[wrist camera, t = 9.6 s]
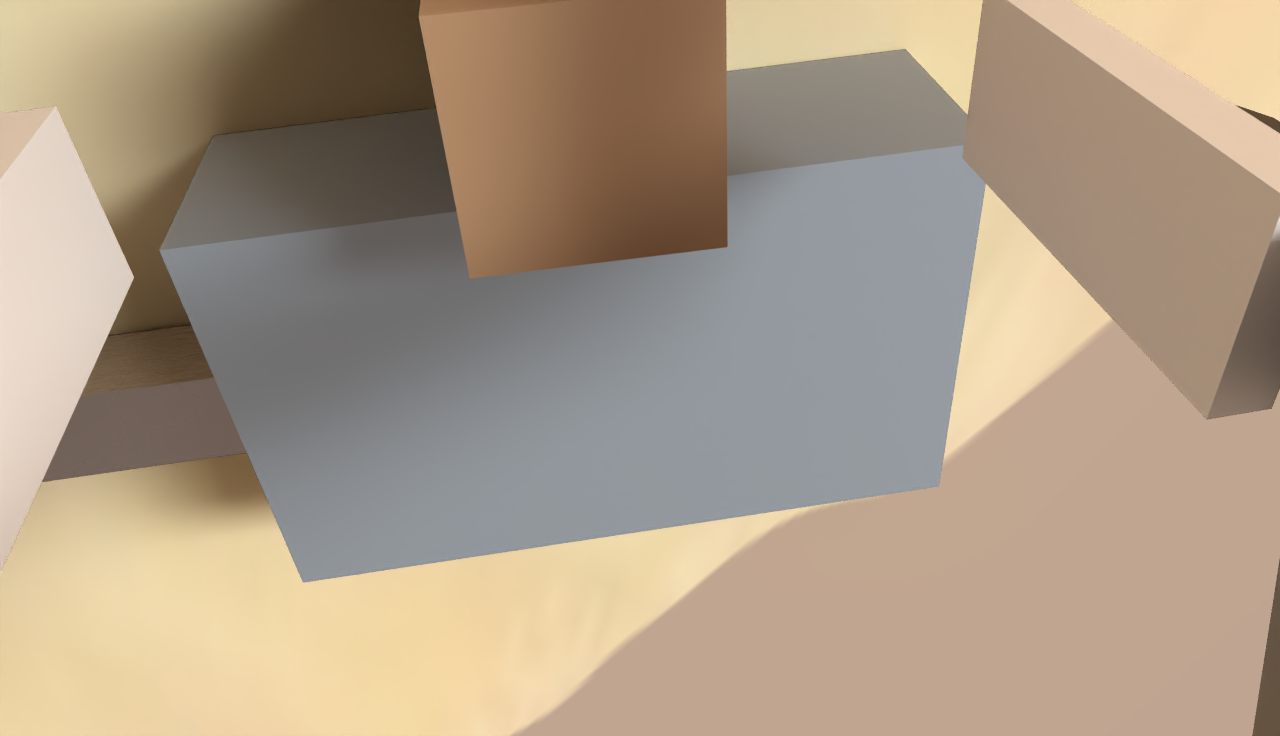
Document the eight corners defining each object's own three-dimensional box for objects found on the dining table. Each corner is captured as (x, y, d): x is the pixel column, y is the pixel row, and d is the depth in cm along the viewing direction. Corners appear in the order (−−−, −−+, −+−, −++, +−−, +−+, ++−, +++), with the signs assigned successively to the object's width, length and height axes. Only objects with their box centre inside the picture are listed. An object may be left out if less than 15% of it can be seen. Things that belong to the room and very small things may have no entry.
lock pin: (-70, 468, 27) (-141, 584, 24) (-164, 337, 24) (-258, 448, 21) (458, 394, 28) (457, 496, 25) (425, 258, 25) (419, 354, 22)
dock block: (325, 445, 29) (303, 582, 25) (71, -253, 18) (-41, -208, 14) (876, 366, 29) (938, 486, 26) (940, -342, 19) (1063, -323, 15)
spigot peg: (470, 60, 22) (469, 278, 15) (437, -136, 20) (419, 16, 13) (647, 42, 23) (727, 247, 16) (637, -155, 20) (725, -17, 13)
